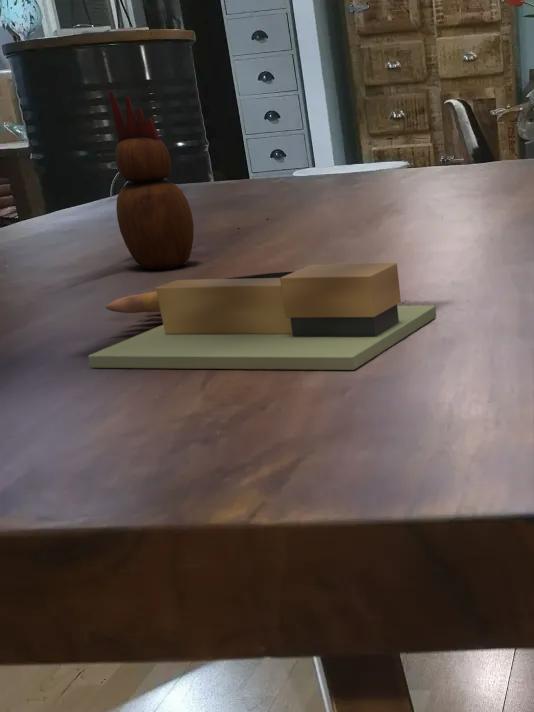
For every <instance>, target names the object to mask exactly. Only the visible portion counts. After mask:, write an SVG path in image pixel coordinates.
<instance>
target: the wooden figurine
mask: <svg viewBox="0 0 534 712" xmlns="http://www.w3.org/2000/svg"><path fill="white" fill-rule="evenodd" d="M108 95H109V101H110V106H111V112H112V117H113V121H114V127H115V131H116V136H117V140H118V143H117V145H116V148H115V161H116V166H117V170H118V173H119V175H120V176H121V178H123V179H124V180H125V181H127V183H126V184H125V185H123V186H122V187H121V188H120V190H119V192H118V195H117V197H116V208H115V209H116V218H117V223H118V228H119V231H120V234H121V236H122V237H121V238H122V239H123V242H124V244H125V246H126V248H127V250H128V252H129V254H130V255H131V257H132V258H133V260H134V261H135V263H136V264H137V265H139V266H141V267H142V268H145V269H148V270H152V271H154V270H155V271H156V270H158V271H159V270H168V269H169V270H170V269H175V268H178V267H181V266H182V265H185V264H186V263H187V262H188V260H189V259H190V258H191V254H192V251H193V244H194V236H195V235H194V231H195V229H194V228H195V227H194V226H195V224H194V218H193V214H192V210H191V207H190V204H189V201H188V199H187V197H186V195H185V193H184V192H183V190H182V189H181V188H180V187H179V186H178V185H177V184H175V183H174V182H171V181H169V180H164V179H166V178H168V177H169V175H170V174H171V170H172V162H171V161H172V160H171V157H170V153H169V150H168V147H166V145H165V142H164V141H162V139H160V136H159V134H158V130H157V127H156V125H155V123H154V120H153V118H152V117H147V119H146V118H145V115H144V111H143V109H142V108H140V109H139V108H138V109H137V115H136V114H135V113H136V112H135V110H134V107H133V103H132V101H131V98H130V96H125V115H126V117H125V115H124V113H123V112H122V109H121V107H120V105H119V103H118V100H117V99H116V96H115V94H114V92H112V91H110V92H108ZM128 182H129V183H128Z"/></svg>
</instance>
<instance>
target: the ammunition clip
mask: <svg viewBox="0 0 534 712" xmlns="http://www.w3.org/2000/svg"><path fill="white" fill-rule="evenodd" d="M295 271H296V270H293V271H282V272H280V271H279V272H268V273H260V274H250V275H243V276H235V277H228V278H225V279H250V278H281V277H283V276H286V275H288V274H291V273H293V272H295ZM105 309H106V310H107V311H111V312H115V313H121V314H122V313H124V314H136V313H139V314H140V313H153V312H155V313H156V312H159V313H161V311H160V306H159V301H158V296H157V291H156V290H154V291H149V292H144V293H143V292H142V293H139V294H132V295H128V296H124V297H120V298H118V299H115V300H112V301H110V302H109V303H108V304H106V305H105Z"/></svg>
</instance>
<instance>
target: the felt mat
mask: <svg viewBox="0 0 534 712" xmlns="http://www.w3.org/2000/svg"><path fill="white" fill-rule="evenodd" d="M397 308H398V318H399V322H398V323H396V324H395V325H393V326H391V327H390V328H388V329H386V330H385V331H383V332H382V333H380V334H378V335H377V336H375V337H294V336H293V334H165V330H164V325H163V324H162V325H159V326H156V327H154V328H152V329H149V330H147V331H144V332H142V333H140V334H137V335H134V336H132V337H130V338H127V339H125V340H122V341H120V342H117V343H115V344H112V345H109V346H108V347H105V348H103V349H101V350H98V351H96V352H93V353H91V354H88V356H87V357H88V362H89V367H90V368H91V369H164V370H165V369H169V370H170V369H174V370H175V369H176V370H184V369H185V370H191V369H192V370H195V369H196V370H277V371H278V370H286V371H287V370H290V371H291V370H292V371H293V370H296V371H355V370H357V369H358V368H360V367H361V366H363V365H364V364H366V363H368V362H369V361H370V360H372V359H374V358H375V357H377V356H378V355H380V354H381V353H383V352H384V351H386V350H387V349H389V348H391V347H392V346H394V345H395V344H397V343H399V342H400V341H402V340H403V339H405V338H406V337H408V336H409V335H411V334H413V333H414V332H415V331H417V330H419V329H420V328H422V327H423V326H425V325H426V324H428V323H430V322H431V321H433V320H434V319H436V318H437V308H436V305H397Z"/></svg>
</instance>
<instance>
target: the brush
mask: <svg viewBox="0 0 534 712" xmlns="http://www.w3.org/2000/svg"><path fill="white" fill-rule="evenodd" d="M294 271H295V272H294ZM294 271H292V272H293V273H291V274H288V275H286V276H283V277H281V278H250V279H226V278H205V279H203V278H202V279H200V278H199V279H176V280H173V281H170V282H167V283H165V284H161V285H159V286H156V287H155V291H157V296H158V301H159V306H160V311H161V312H160V314H161V315H160V316H161V319H162V320H161V321H162V325H164V330H165V334H293V336H294V337H375V336H377V335H378V334H380V333H382V332H383V331H385V330H386V329H388V328H390V327H391V326H393V325H395V324H396V323H398V322H399V318H398V308H397V306H398V304H400V303H401V302H402V301H401V300H402V299H401V290H400V279H399V269H398V263H397V262H385V263H384V262H383V263H381V262H380V263H342V264H341V263H339V264H310V265H307V266H305V267H303V268H301V269H298V270H294Z"/></svg>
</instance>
